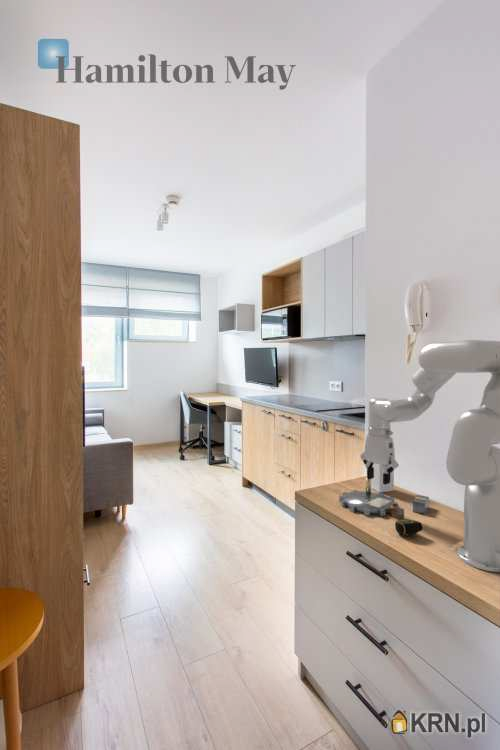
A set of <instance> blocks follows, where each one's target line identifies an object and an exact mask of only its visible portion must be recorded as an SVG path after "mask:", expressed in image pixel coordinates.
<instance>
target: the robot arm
mask: <svg viewBox="0 0 500 750" xmlns="http://www.w3.org/2000/svg"><path fill="white" fill-rule="evenodd" d="M418 364H419V366H420V367H419V368H418V369H417V370H416V371H415V373H413V375H412V379H411V380H412V383H413V385H414V386H415V387H416V390H415V391H414V392H413V393H412V394H411V395H410V396H409V397H408V398H405V399H404V398H403V399H387V398H383V397H382V398H380V397H375V398H371V399H369V401H368V425H367V426H368V429H367V431H368V434H367V435H366V437H365V438H366V439H365V443H364V452H363V453H362V454H361V455H359V456H360V459H361V460H362V462H363V464H364V466H365V469H366V478H367V479H372V478H374V467H373V464H374V463H376V464H380V465H383V469H384V472H385V473H383V484H384V485H386V484H389V483H390V473H392V471H394V472H395V469H397V468H399V466H400V464H399V462H397V460H396V459H395V455H396V454H395V445H394V439H393V437H392V436H393V434H394V431H392V430H391V423H399V422H400V423H401V422H409V421H410V422H411V421H413V420H416V419H417V418H419V417H420V416H422V414H423V413H425V412H426V411H427V410H428V409H429V408H430V407H431V406H432V404H433V403H434V400H435V397H436V393H438V391H439V390H440V389H441V388H442V387H443V386H444V385H445V384H447V382H448V381H450V380H451V379H452V378H453V377H454V376H455V375H456V374H457V373H458V374H459V373H461V374H462V373H466V374H467V373H468V374H469V373H471V374H472V373H473V374H475V373H476V374H477V373H483V374H484V373H490V374H491V377H490V379H489V381H488V382H487V384H486V385H485V387H484V389H483V394H482V399H481V402H480V404H479V405H480V406H479V407H478V408H475V409H470V410H467V411H464V412H463V413H461V414H460V416H458V418H456V419H457V420H456V421H455V422H454V426H453V428H452V429H453V430H452V432H451V433H452V434H451V437H450V440H449V441H450V442H449V445H448V451H447V454H446V460H445V461H446V462H445V465H446V470H447V473H448V475H449V477H450V478H451V479H452V481H454V482H456V483H457V484H460V485H462V486H465V487H464V492H463V493H464V495H463V499H464V500H463V544H462V545H460V546H458V547H457V549H456V554H457V556H458V558H459V559H460V560H461V561H463V562H464V563H466V564H467V565H469V566H470V567H474V568H476V569H479V570H483V571H486V572H492V573H500V448H499V447H497V446H495V445H498V444H500V341H499V340H498V341H497V340H485V339H483V340H482V339H467V340H456V341H447V342H446V341H445V342H432V343H429V344H427V345H425V346H424V347H423V348H422V349H421V351H420V352H419V354H418ZM390 464H392V466H390ZM387 468H388V469H387Z"/></svg>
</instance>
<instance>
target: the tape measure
mask: <svg viewBox="0 0 500 750" xmlns="http://www.w3.org/2000/svg"><path fill="white" fill-rule="evenodd" d="M394 526H395V531H396V532H397V533H399V534H401V535H403V536H410V535H416V534H418V533H420V532H421V531H423V529H424V528H423V527H424V525H423V524H422V522H420V521H417V520H413V519H407V518H405V519H404V518H402V519H398V520H395V524H394Z"/></svg>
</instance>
